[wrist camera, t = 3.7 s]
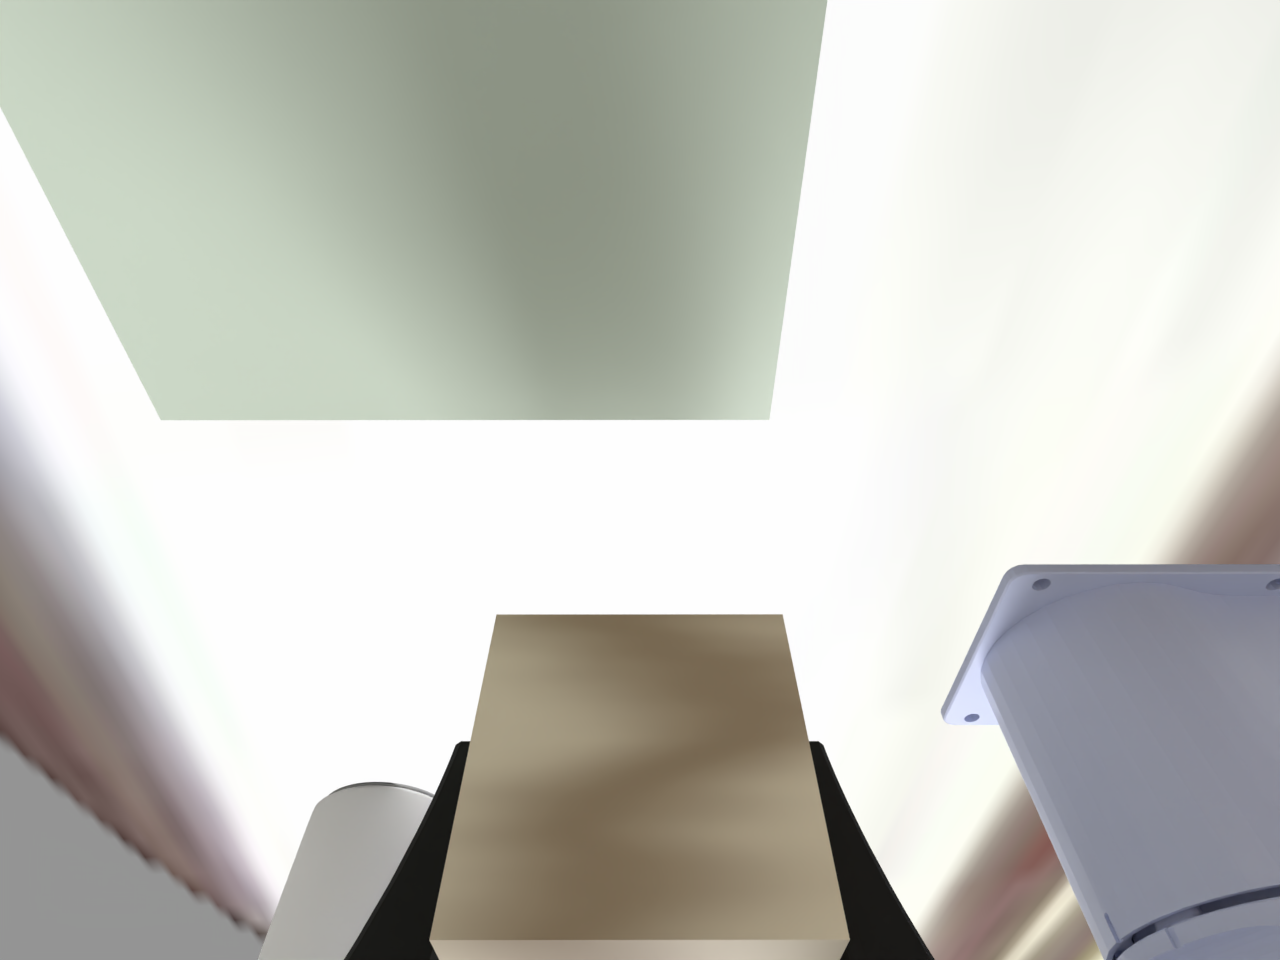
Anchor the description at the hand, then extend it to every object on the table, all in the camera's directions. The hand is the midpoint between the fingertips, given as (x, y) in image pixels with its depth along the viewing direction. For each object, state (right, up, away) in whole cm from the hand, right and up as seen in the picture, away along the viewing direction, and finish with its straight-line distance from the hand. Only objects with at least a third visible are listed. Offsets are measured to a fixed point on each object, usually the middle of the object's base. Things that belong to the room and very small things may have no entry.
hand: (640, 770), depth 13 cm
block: (0, +1, +1) cm, 2 cm away
